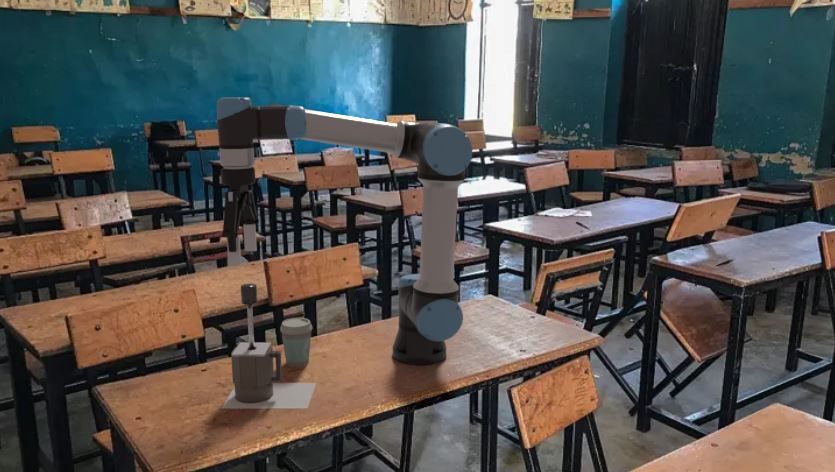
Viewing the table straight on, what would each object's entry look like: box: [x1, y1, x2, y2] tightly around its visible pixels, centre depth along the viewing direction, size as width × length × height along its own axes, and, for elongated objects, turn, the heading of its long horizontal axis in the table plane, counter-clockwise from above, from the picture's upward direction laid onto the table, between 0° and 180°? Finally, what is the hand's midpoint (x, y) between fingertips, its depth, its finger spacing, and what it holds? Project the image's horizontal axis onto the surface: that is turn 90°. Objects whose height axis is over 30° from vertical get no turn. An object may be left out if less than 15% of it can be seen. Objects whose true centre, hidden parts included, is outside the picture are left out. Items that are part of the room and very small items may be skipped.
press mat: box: [221, 382, 317, 410], centre depth 165 cm, size 20×14×1 cm
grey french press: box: [230, 341, 283, 403], centre depth 164 cm, size 11×9×12 cm
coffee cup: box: [279, 317, 313, 368], centre depth 183 cm, size 8×8×12 cm
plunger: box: [240, 283, 258, 350], centre depth 161 cm, size 4×4×16 cm
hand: (243, 257), depth 159 cm, fingers open, 13 cm apart
